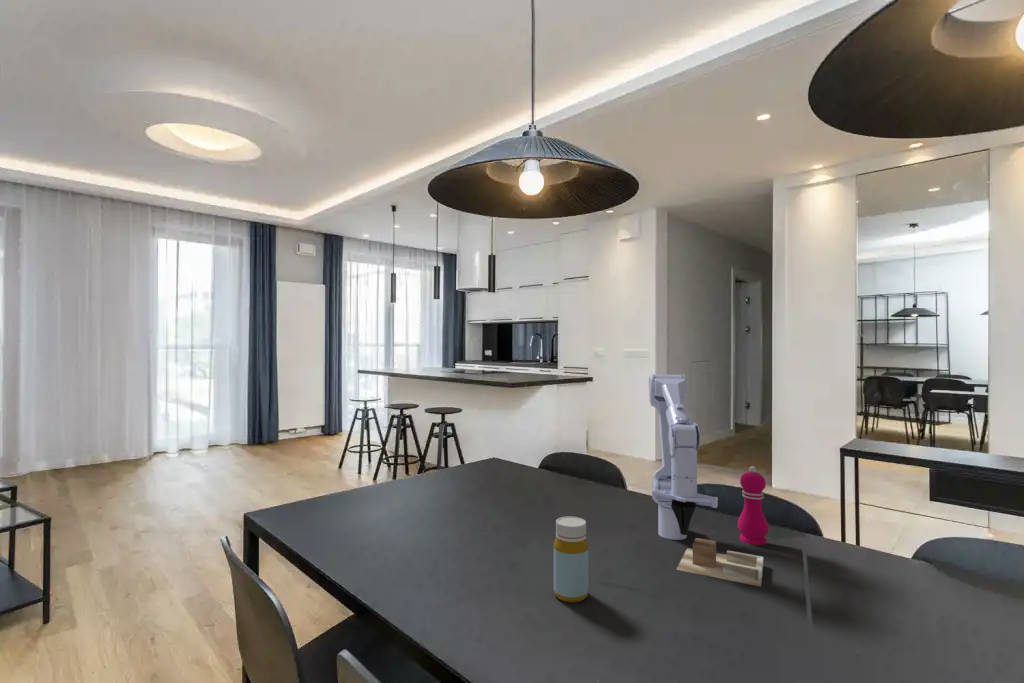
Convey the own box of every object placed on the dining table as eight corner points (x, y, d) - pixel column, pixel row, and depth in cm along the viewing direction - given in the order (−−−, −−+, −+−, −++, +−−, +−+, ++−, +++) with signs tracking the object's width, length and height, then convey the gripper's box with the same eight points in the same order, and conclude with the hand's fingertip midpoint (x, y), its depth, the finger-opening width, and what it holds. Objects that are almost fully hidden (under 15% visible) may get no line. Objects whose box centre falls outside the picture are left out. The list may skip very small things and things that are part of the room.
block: (695, 556, 121) (695, 537, 121) (716, 560, 119) (716, 541, 119) (692, 563, 117) (692, 544, 117) (713, 568, 115) (713, 547, 115)
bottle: (584, 586, 108) (584, 515, 108) (591, 603, 101) (591, 527, 101) (551, 587, 107) (552, 515, 108) (555, 604, 100) (556, 527, 101)
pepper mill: (772, 550, 127) (772, 470, 127) (741, 548, 129) (741, 468, 129) (764, 539, 134) (763, 463, 134) (734, 537, 136) (734, 462, 136)
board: (687, 551, 126) (687, 539, 126) (763, 566, 118) (763, 553, 118) (676, 573, 114) (676, 560, 114) (760, 591, 106) (760, 576, 106)
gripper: (649, 475, 120) (649, 533, 120) (714, 483, 113) (715, 544, 113) (655, 469, 126) (656, 524, 126) (718, 476, 119) (718, 534, 119)
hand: (684, 533), depth 120 cm, fingers closed
